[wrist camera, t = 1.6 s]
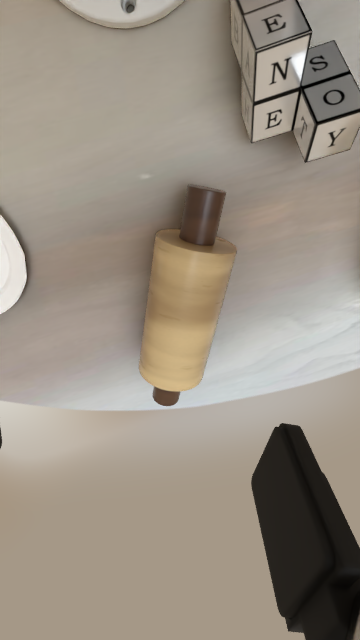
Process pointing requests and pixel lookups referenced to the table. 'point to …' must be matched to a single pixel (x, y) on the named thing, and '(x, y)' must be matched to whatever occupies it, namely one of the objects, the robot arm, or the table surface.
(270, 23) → the building blocks
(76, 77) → the table surface
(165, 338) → the rolling pin
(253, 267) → the table surface
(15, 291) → the candle holder
